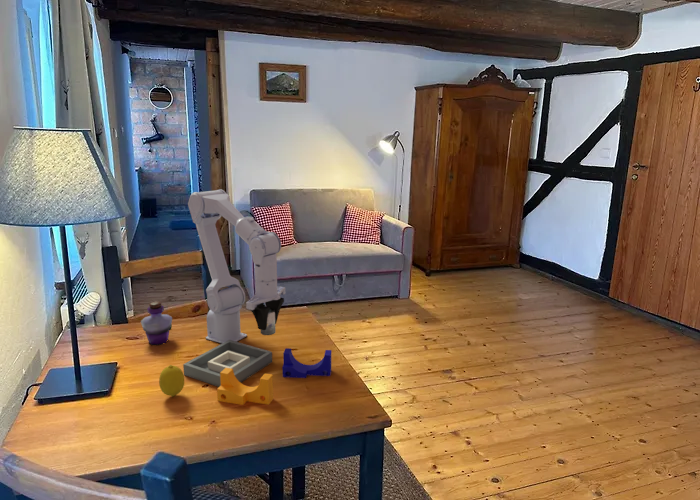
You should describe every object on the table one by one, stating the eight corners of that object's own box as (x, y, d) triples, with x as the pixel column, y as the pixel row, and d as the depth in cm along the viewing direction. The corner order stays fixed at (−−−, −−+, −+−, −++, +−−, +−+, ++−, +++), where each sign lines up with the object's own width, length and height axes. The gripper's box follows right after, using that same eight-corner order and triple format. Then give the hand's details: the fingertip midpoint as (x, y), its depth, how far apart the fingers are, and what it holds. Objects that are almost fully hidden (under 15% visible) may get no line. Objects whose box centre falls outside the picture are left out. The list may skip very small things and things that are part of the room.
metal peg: (257, 333, 135) (256, 312, 134) (266, 328, 139) (265, 307, 137) (269, 336, 134) (269, 315, 132) (278, 331, 137) (277, 310, 135)
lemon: (162, 405, 114) (159, 373, 112) (159, 393, 118) (156, 362, 116) (187, 399, 116) (185, 368, 114) (183, 388, 121) (181, 358, 119)
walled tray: (184, 375, 127) (183, 364, 126) (229, 349, 142) (229, 339, 141) (228, 390, 120) (228, 379, 119) (272, 362, 135) (272, 351, 134)
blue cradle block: (282, 377, 127) (282, 356, 125) (285, 369, 131) (285, 348, 130) (329, 379, 126) (329, 358, 125) (331, 371, 131) (331, 350, 129)
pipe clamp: (217, 401, 116) (216, 376, 114) (226, 392, 120) (225, 367, 118) (265, 409, 113) (264, 383, 111) (273, 399, 117) (272, 374, 115)
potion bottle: (180, 338, 148) (177, 300, 145) (158, 350, 141) (155, 310, 138) (158, 333, 152) (155, 296, 148) (136, 344, 144) (132, 305, 141)
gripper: (261, 288, 124) (262, 339, 128) (294, 274, 137) (294, 320, 140) (239, 284, 127) (241, 333, 131) (273, 270, 140) (274, 315, 143)
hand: (267, 326), depth 136 cm, fingers closed on metal peg, 4 cm apart
